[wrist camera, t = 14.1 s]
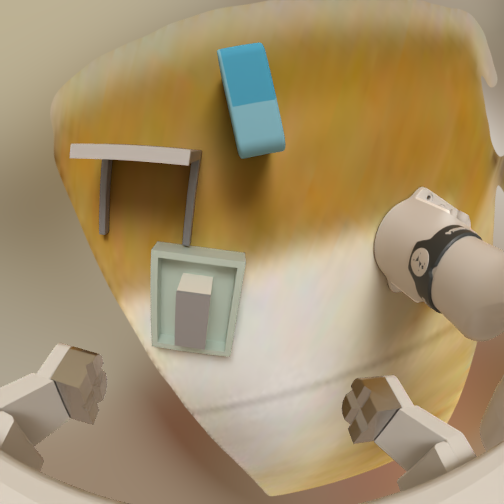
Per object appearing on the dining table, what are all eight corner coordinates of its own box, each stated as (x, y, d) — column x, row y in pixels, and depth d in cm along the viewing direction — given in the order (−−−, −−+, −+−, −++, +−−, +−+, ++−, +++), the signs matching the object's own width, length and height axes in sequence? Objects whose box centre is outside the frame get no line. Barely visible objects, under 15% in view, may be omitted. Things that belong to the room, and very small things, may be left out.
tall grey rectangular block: (213, 276, 42) (210, 297, 36) (207, 326, 45) (204, 349, 39) (183, 272, 41) (176, 292, 36) (180, 322, 44) (174, 345, 39)
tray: (244, 252, 42) (245, 262, 39) (230, 343, 48) (230, 356, 44) (157, 241, 40) (151, 249, 37) (156, 333, 46) (151, 346, 43)
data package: (271, 149, 37) (287, 151, 26) (238, 156, 37) (240, 159, 26) (253, 68, 33) (262, 37, 21) (220, 74, 33) (215, 45, 21)
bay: (202, 149, 36) (190, 149, 26) (190, 242, 41) (177, 273, 31) (108, 142, 35) (70, 144, 25) (103, 231, 39) (70, 256, 29)
